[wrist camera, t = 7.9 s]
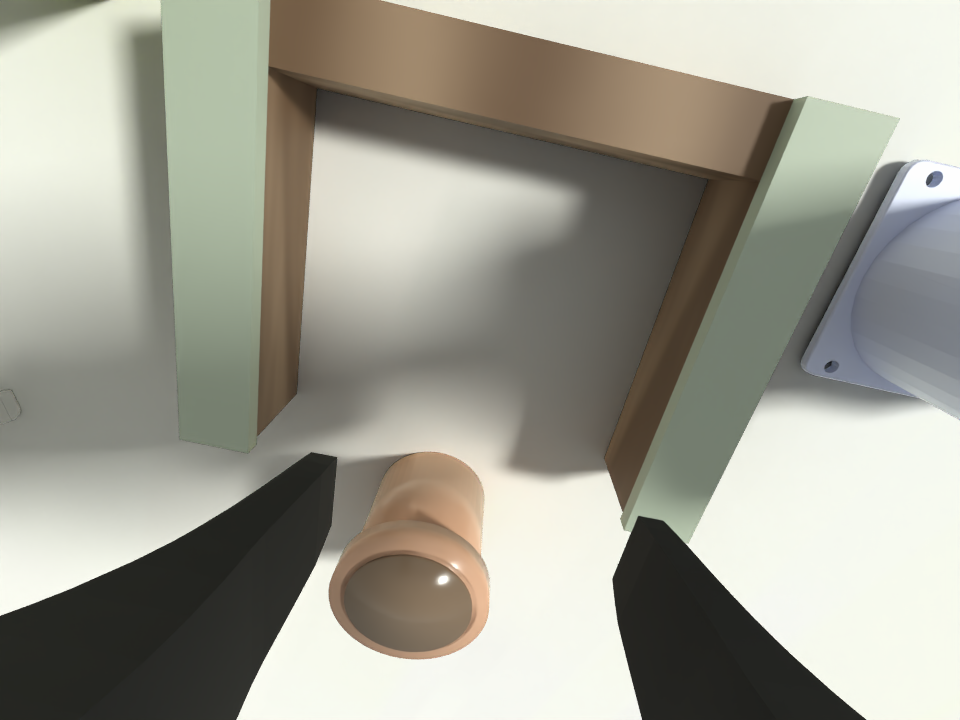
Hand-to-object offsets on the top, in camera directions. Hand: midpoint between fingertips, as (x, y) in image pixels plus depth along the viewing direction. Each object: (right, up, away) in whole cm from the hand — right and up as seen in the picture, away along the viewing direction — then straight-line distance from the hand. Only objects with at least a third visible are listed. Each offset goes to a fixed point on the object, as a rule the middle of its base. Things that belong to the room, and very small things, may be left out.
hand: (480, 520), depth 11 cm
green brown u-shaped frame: (0, +6, +8) cm, 10 cm away
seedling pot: (-2, -3, +11) cm, 12 cm away
